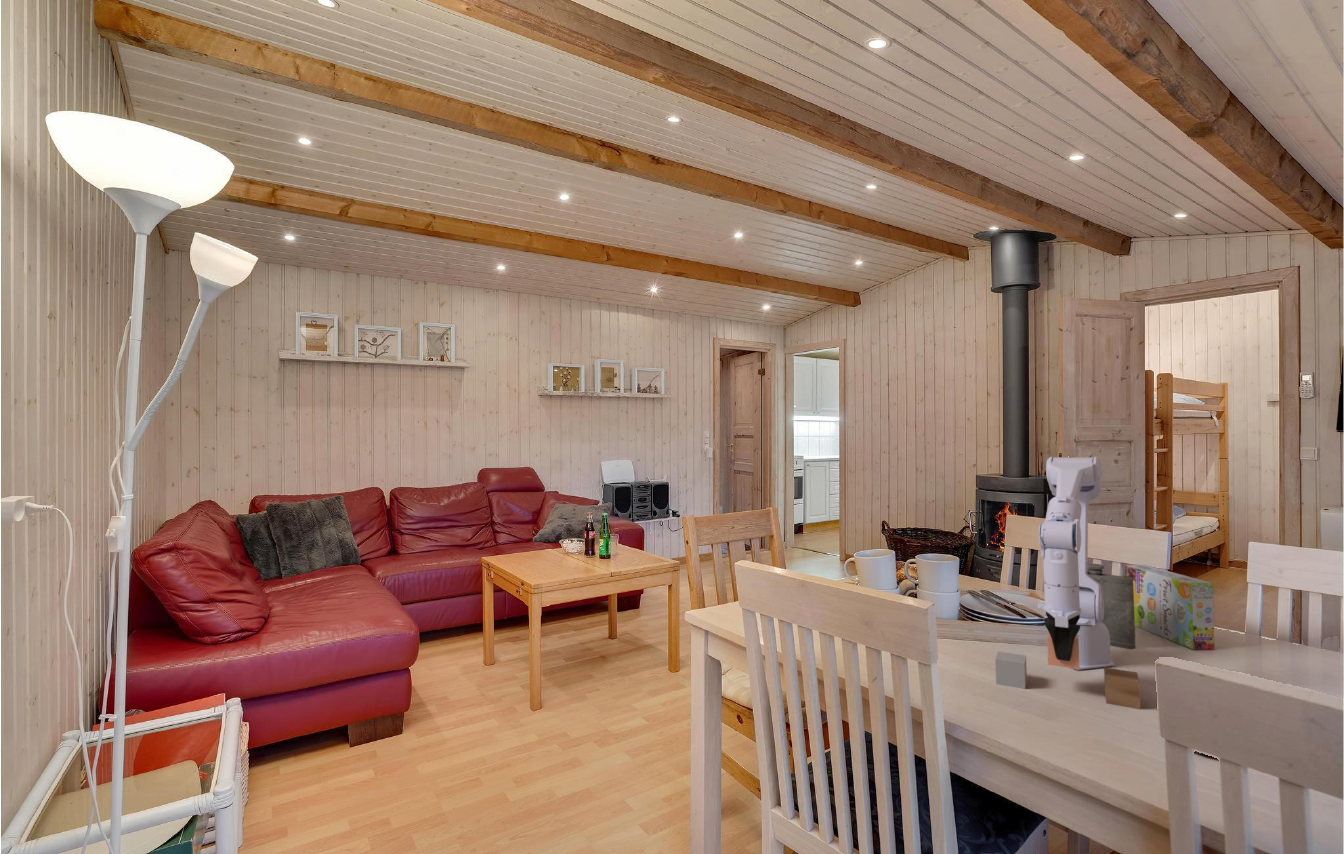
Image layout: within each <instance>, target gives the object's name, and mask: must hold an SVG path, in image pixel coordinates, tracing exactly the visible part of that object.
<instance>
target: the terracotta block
mask: <svg viewBox="0 0 1344 854" xmlns="http://www.w3.org/2000/svg"><path fill="white" fill-rule="evenodd" d="M1046 640H1047V642H1046V643H1047V655H1048V657H1047V665H1050V666H1055V667H1060V668H1068V669H1074V670H1076V669H1080V666H1079V636H1078V635H1076V637H1075V639H1074V643H1073V649H1072V655H1071V659H1070V661H1065V660H1058V659H1057V658H1056V655H1055V651H1054V646H1053V642H1052V638H1051V636H1050V633H1049V631H1048V630H1047V639H1046Z"/></svg>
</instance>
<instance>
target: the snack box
mask: <svg viewBox="0 0 1344 854" xmlns="http://www.w3.org/2000/svg"><path fill="white" fill-rule="evenodd" d="M1124 568H1125V569H1124V571H1125V574H1124V577H1131V578H1133V590H1134V619H1135V627H1137V628H1139V629H1143V630H1144V631H1147V632H1149V633H1152V634H1154V635H1157V636H1159V637H1161V638H1164V639H1166V640H1169V641H1171V642H1173V643H1176V644H1179V645H1181V646H1184V647H1185V648H1188V649H1191V650H1203V651H1204V650H1207V651H1208V650H1209V651H1213V650H1215V602H1214V601H1215V599H1214V597H1215V596H1214V595H1215V593H1214V590H1215V589H1214V587H1215V586H1214V582H1211V581H1210V582H1209V581H1206V580H1202V579H1199V578H1195V577H1191V576H1188V575H1185V574H1179V573H1176V572H1173V571H1169V570H1164V569H1161V568H1157V567H1154V566H1152V565H1151V566H1150V565H1146V564H1125V566H1124Z"/></svg>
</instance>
